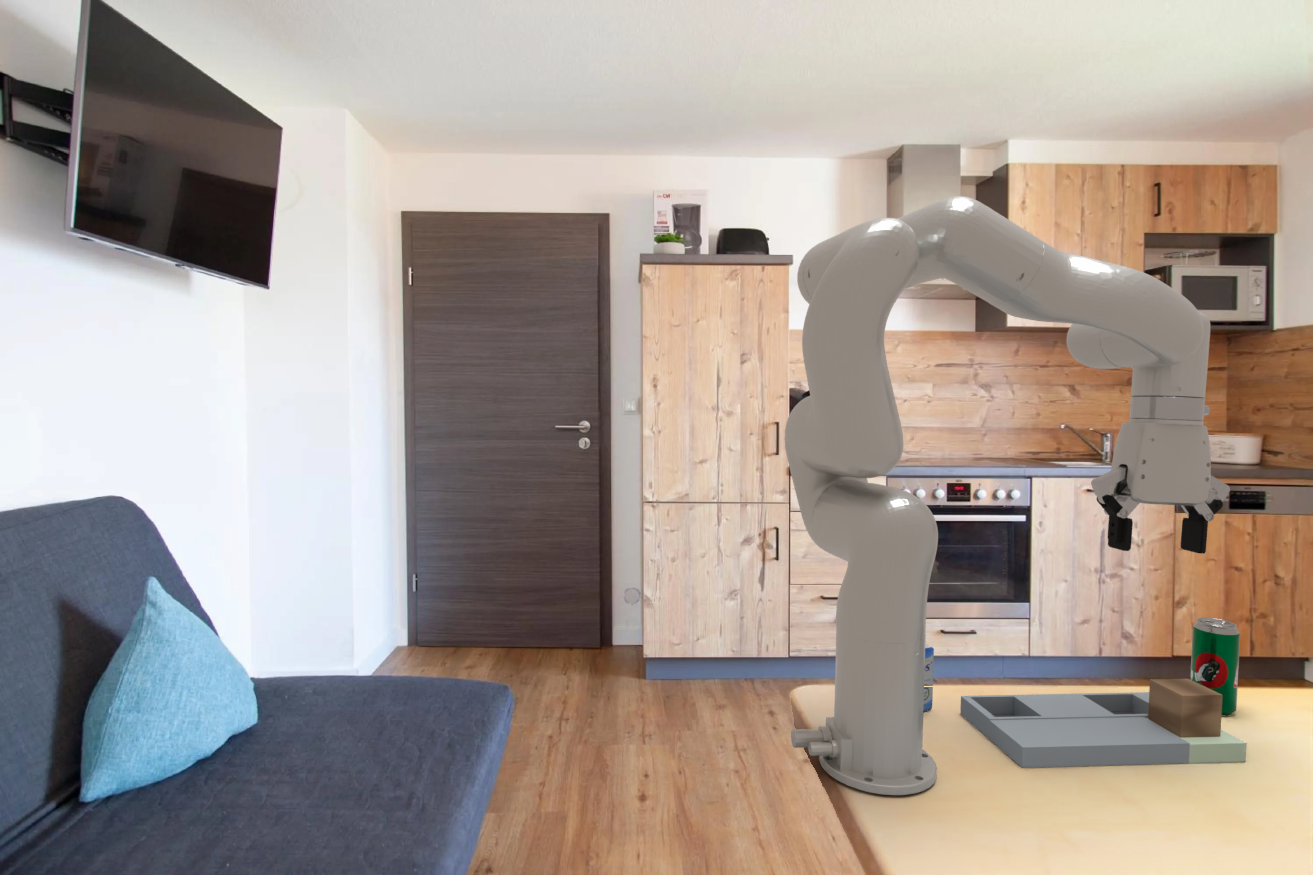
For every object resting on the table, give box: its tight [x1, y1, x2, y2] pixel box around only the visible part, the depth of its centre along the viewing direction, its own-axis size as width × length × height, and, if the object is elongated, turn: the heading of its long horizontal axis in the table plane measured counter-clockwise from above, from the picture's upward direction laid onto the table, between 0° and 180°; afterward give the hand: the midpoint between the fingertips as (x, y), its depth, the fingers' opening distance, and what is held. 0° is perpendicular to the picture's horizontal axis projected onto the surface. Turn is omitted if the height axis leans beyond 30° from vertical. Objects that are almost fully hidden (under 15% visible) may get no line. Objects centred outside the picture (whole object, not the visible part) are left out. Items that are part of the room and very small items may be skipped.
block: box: [1148, 678, 1222, 738], centre depth 87 cm, size 5×5×5 cm
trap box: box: [960, 691, 1248, 769], centre depth 89 cm, size 27×14×2 cm, turn 94°
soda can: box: [1190, 617, 1241, 716], centre depth 98 cm, size 5×5×12 cm
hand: (1155, 550), depth 90 cm, fingers open, 9 cm apart
